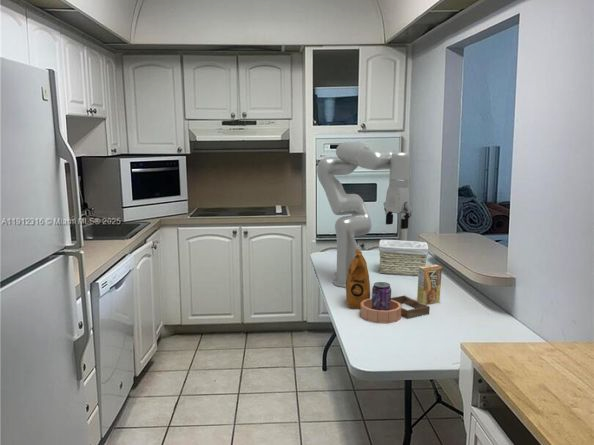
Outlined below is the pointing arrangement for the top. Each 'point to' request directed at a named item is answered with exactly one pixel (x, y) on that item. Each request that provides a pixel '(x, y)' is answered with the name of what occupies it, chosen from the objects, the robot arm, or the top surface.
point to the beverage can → (381, 296)
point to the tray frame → (419, 307)
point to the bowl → (380, 312)
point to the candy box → (429, 284)
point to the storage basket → (402, 256)
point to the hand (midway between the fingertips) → (396, 226)
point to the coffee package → (357, 281)
